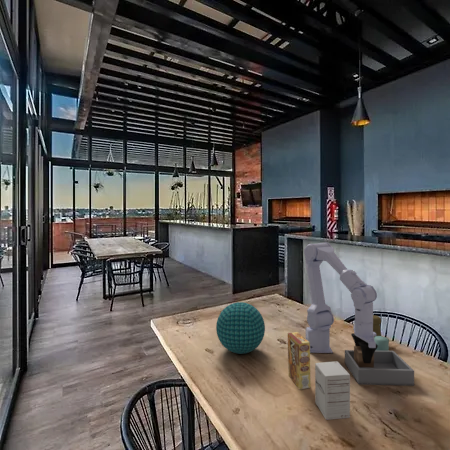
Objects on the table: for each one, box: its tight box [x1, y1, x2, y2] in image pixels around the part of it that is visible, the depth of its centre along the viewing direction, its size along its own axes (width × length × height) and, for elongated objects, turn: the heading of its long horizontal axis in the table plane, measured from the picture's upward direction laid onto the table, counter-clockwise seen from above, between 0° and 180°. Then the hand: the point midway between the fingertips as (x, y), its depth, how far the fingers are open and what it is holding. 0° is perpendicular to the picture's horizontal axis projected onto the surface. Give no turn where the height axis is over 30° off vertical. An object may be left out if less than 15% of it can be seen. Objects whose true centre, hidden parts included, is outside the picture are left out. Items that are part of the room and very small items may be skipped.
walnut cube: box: [353, 345, 374, 368], centre depth 103 cm, size 5×5×5 cm
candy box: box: [287, 331, 312, 390], centre depth 99 cm, size 9×4×15 cm, turn 13°
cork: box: [373, 314, 382, 337], centre depth 128 cm, size 6×6×11 cm
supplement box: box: [314, 361, 351, 420], centre depth 84 cm, size 7×7×13 cm
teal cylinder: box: [374, 335, 390, 351], centre depth 115 cm, size 5×5×7 cm
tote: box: [344, 349, 415, 387], centre depth 103 cm, size 18×14×5 cm
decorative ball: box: [215, 301, 266, 355], centre depth 121 cm, size 20×20×20 cm
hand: (363, 358), depth 103 cm, fingers closed on walnut cube, 5 cm apart
